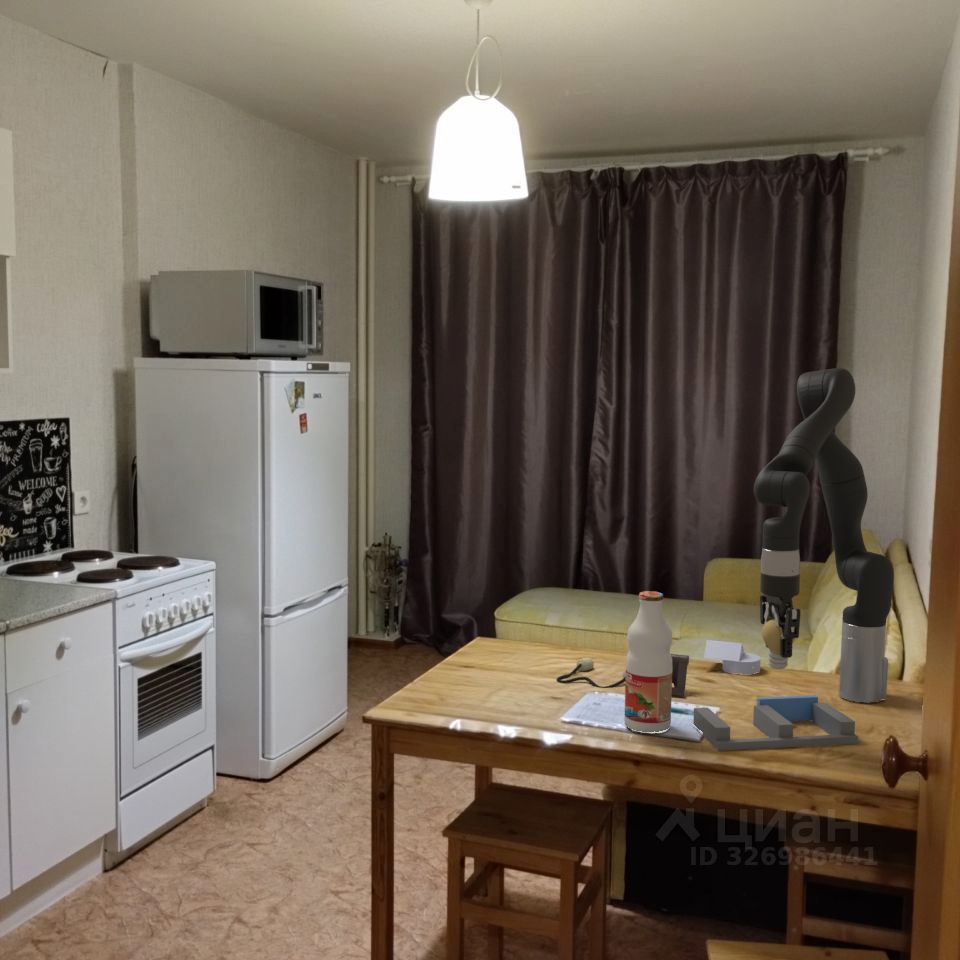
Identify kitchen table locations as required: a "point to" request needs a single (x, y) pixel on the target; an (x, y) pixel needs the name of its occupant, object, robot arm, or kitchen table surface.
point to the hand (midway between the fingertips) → (778, 652)
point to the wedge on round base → (732, 657)
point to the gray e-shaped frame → (780, 724)
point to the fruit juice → (649, 668)
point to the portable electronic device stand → (679, 674)
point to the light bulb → (774, 645)
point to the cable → (584, 666)
